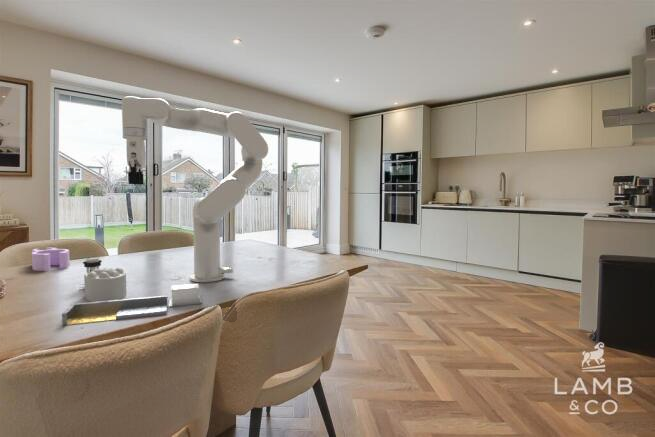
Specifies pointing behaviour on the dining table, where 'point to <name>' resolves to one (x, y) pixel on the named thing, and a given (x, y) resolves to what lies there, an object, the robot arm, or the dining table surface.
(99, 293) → the lumpy-topped squat cylinder
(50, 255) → the purple lobed block
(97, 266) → the push button
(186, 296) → the clip block
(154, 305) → the rail
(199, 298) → the tab
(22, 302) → the dining table surface
